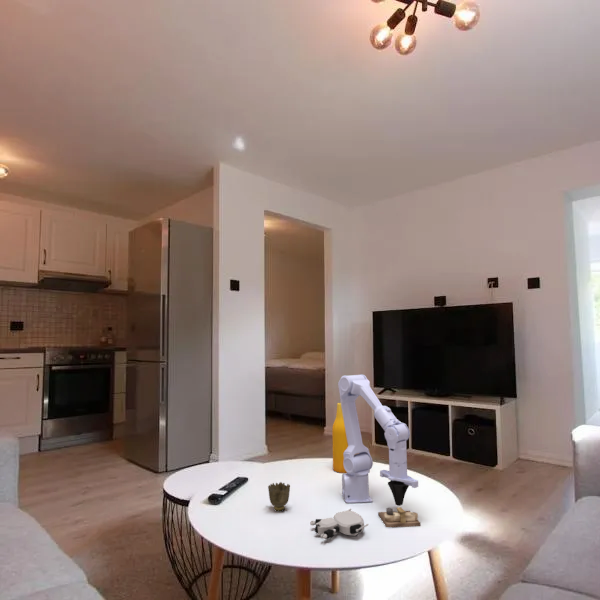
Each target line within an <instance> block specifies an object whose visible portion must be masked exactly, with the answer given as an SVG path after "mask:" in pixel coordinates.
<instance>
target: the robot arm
mask: <svg viewBox="0 0 600 600" xmlns="http://www.w3.org/2000/svg"><path fill="white" fill-rule="evenodd" d="M337 384H338V385H337V386H338V391H339V399H340V400H339V401H340V403H341V407H342V413H343V419H344V425H345V431H346V436H347V442H348V447H347V449H346V450H345V451H344V453H343V455H344V461H343V465H344V469H345V471H346V472H347V473H342V475H341V481H342V482H341V487H342V489H341V492H342V493H341V495H342V498H343V500H344V502H345V503H346V504H351V503H372V502H373V499H372V498H371V496H370V488H369V487H370V484H369V474H370V472H371V471H370V470H372V468H373V465H374V464H373V463H374V462H373V458H372V456H371V453H370V449H369V448H368V447H367V446H365V445H364V443H363V437H362V433H361V428H360V427H361V426H360V421H359V415H358V410H357V406H356V400H357V399H358V398H359V396H361V397H362V399H364V401H365V402H366V404H368V406H369V407H370V408H371V410H372V411H373V416H374V418H375V419H376V421H377V422H378V424H379V425H380V426H381V428H382V429H383V431H384V439H385V440H386V443H387V447H388V470H387V469H381V470H380V471H379V477H381V478H386V479H388V480H389V481H388V482H387V485H388V487H389V490H390V491H391V493H392V496H393V500H394V503H395V506H398V507H399V506H403V504H404V499H405V496H406V494H407V493H406V492H407V490H408V488H409V487H411V488H412V489H415V488H418V487H419V480H417V479H415V478H414V477H411V476H410V475H408V459H407V458H408V455H407V454H408V453H407V452H408V450H407V441H408V440H409V439H410V435H411V433H410V428H409V427H408V426H407V425H408V424H406V423H404V422H401V421H400V420H399V419H397V416H395V415H394V413H393V412H392V409H391V408H390V406H389V407H388V406H387V405H382V403H381V402H380V399H379V398H378V397H377V394H375V392H374V391H373V389H372V386H371V382H370V380H369V379H368V378H367V376H366V375H365V374H362V373H360V374H353V375H352V374H351V375H341V377H340V379H339V380H338V382H337Z"/></svg>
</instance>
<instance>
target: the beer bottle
mask: <svg viewBox="0 0 600 600" xmlns="http://www.w3.org/2000/svg"><path fill="white" fill-rule="evenodd" d="M331 429H332V430H331V433H332V437H331V438H332V469H333V471H334V472H335V471H336V472H335V473H338V472H339V474H346V473H347V472H346V471H345V469H344V465H343V461H344V455H343V453H344V451H345V450H346V449H347V447H348V442H347V436H346V431H345V425H344V419H343V413H342V407H341V402H337V403H336V415H335V419H334V421H333V424H332V428H331Z"/></svg>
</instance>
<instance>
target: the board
mask: <svg viewBox="0 0 600 600" xmlns="http://www.w3.org/2000/svg"><path fill="white" fill-rule="evenodd" d="M385 510H386V511H378V512H377V513H378V515H377V516H378V517H379V519H380V518H381V519H380V521H381V522H382V521H383V522H382V523H383V525H384V524H385V525H384V526H385V528H386V527H392V528H408V527H410V528H411V527H421V521H420V520H419V519H418V520H417V521H406V517H405V512H411V510H404V509H403V508H402V507H399V506H398V507H396V511H394V508H393V507H387V508H386V509H385ZM385 513H386V514H388V515H393V513H400V521H394V522H388V521H385Z"/></svg>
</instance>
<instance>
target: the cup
mask: <svg viewBox="0 0 600 600" xmlns="http://www.w3.org/2000/svg"><path fill="white" fill-rule="evenodd" d="M285 484H286V483H285V482H282V481H280V482H279V483H278V482H276V483H274V482H273V483H270V484H268V486H267V487H268V488H267V490H268V498H269V501H270V504H271V505H272V506H273V510H274V511H275V510H276V511H275V512H283V511H284V510H285V506H286V505H287V504H288V502H289V499H290V491H291V490H290V489H291V485H290V484H289V483H287V484H286V485H285ZM282 510H283V511H282Z"/></svg>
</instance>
